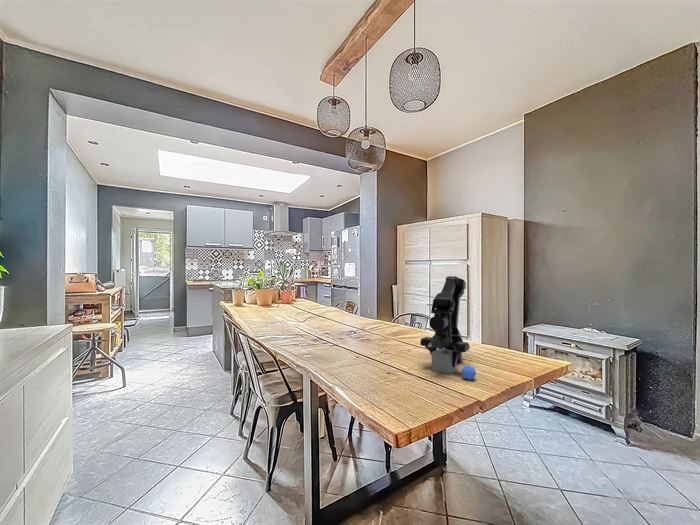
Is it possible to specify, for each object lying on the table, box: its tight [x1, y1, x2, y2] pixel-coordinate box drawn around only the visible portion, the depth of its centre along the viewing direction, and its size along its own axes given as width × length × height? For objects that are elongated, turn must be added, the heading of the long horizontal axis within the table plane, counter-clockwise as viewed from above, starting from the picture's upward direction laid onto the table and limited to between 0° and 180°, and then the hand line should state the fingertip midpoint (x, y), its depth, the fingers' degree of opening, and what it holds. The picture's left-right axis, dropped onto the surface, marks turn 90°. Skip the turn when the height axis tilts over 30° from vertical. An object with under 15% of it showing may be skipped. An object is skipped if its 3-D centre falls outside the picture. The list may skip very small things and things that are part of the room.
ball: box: [461, 365, 477, 381], centre depth 114 cm, size 5×5×5 cm
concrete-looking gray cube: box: [431, 348, 458, 375], centre depth 124 cm, size 8×8×8 cm
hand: (444, 365), depth 124 cm, fingers closed on concrete-looking gray cube, 7 cm apart
